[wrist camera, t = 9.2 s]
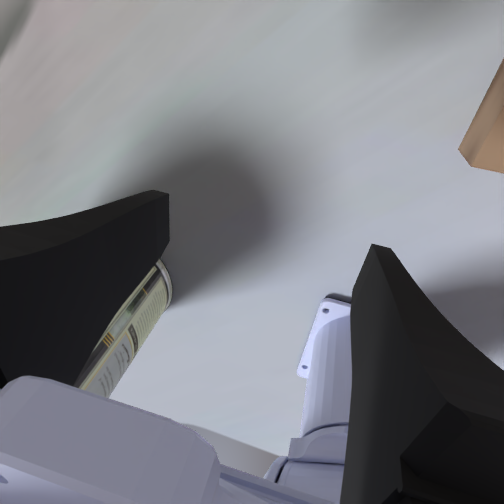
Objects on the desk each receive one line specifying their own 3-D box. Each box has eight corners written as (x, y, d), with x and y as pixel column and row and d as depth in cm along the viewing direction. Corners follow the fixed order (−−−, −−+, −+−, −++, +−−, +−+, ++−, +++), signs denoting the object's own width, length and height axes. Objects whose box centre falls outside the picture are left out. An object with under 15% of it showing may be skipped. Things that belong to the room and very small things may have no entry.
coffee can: (74, 300, 33) (-69, 444, 22) (55, 209, 27) (-156, 345, 16) (173, 331, 32) (75, 500, 21) (176, 244, 26) (40, 416, 15)
